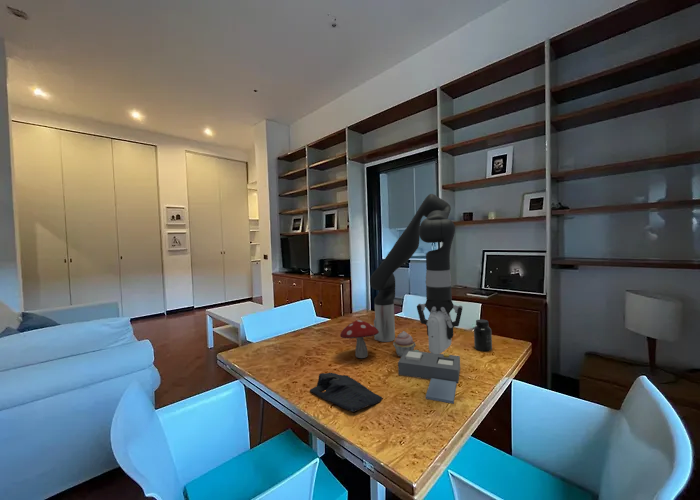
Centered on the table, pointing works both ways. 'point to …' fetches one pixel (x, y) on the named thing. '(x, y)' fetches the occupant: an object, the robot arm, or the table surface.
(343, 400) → the folded black shirt
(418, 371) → the switch box
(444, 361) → the right switch
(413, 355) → the left switch
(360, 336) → the decorative mushroom
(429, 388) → the pad
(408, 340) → the cupcake
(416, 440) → the table surface
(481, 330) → the supplement bottle
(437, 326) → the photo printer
